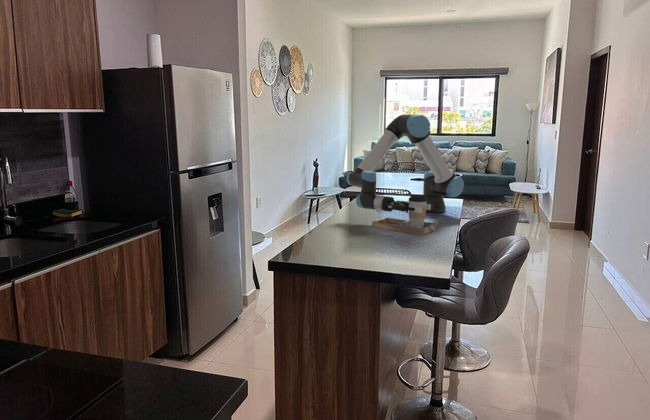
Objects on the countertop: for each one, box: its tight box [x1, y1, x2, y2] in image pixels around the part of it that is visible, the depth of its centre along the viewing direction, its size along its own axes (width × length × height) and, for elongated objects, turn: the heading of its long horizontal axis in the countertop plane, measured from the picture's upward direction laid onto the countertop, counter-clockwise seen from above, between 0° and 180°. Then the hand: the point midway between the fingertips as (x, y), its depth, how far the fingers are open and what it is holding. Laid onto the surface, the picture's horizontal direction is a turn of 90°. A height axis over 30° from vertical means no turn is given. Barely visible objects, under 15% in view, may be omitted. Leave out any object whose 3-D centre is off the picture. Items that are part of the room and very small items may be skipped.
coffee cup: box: [408, 194, 427, 227], centre depth 235 cm, size 9×9×15 cm
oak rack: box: [371, 216, 438, 236], centre depth 241 cm, size 15×28×3 cm, turn 54°
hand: (426, 208), depth 232 cm, fingers closed on coffee cup, 9 cm apart
